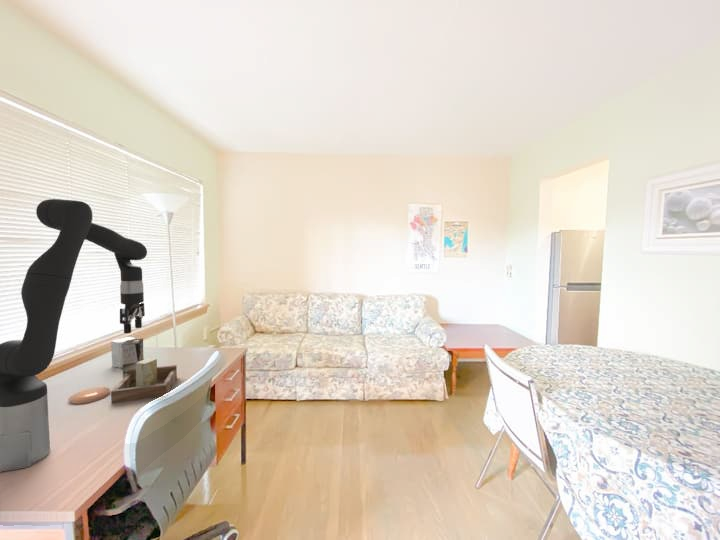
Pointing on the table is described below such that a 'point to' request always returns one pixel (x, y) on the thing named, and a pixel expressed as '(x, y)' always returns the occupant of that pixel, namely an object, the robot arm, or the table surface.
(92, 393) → the peach half ellipsoid
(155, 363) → the skincare box
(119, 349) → the small box
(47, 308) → the robot arm
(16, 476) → the table surface
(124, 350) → the coffee box
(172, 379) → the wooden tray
